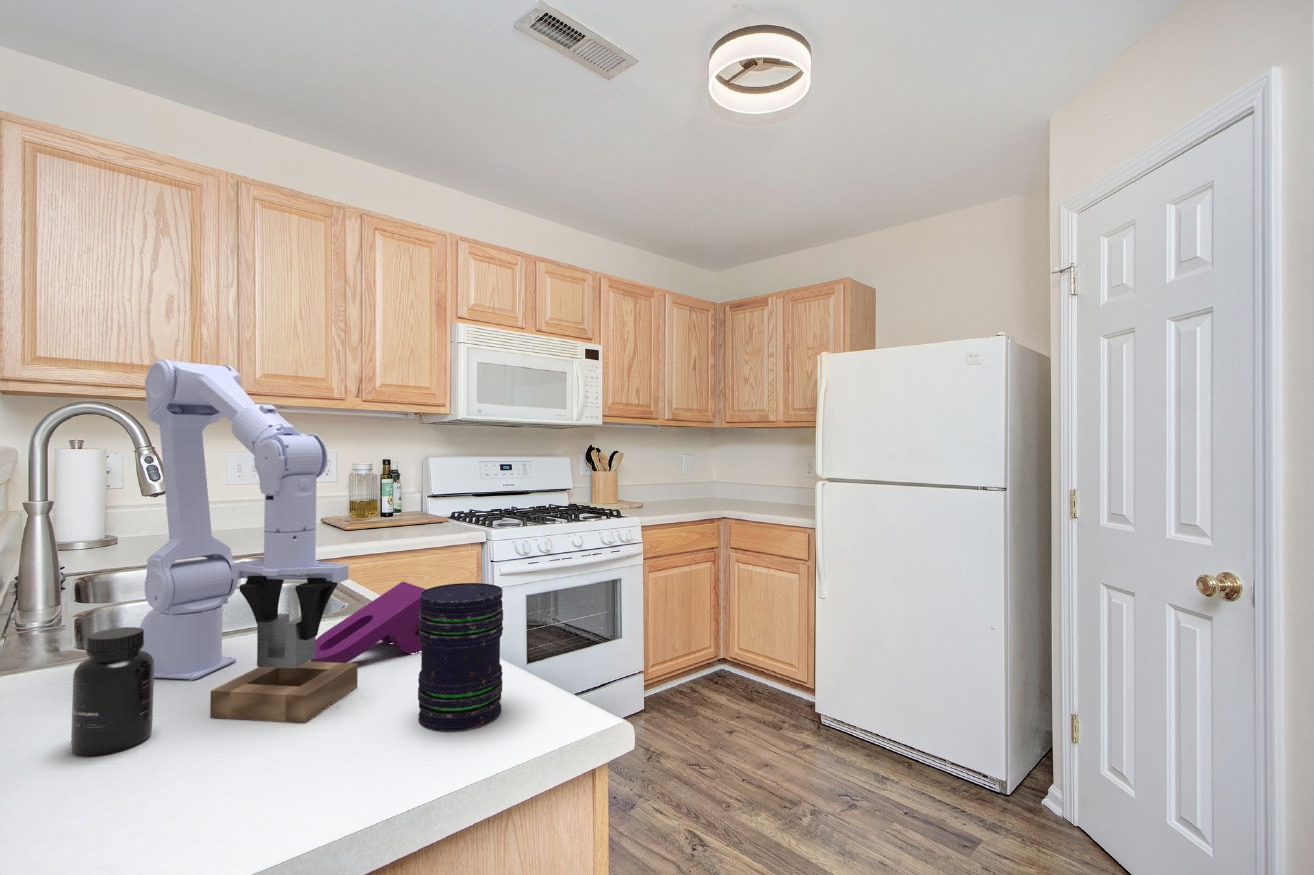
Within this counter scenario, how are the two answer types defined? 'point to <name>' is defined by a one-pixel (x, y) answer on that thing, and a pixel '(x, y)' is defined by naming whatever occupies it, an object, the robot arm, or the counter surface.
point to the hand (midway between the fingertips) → (289, 636)
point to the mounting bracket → (375, 626)
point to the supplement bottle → (112, 693)
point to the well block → (284, 692)
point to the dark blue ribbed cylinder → (460, 656)
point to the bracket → (282, 643)
